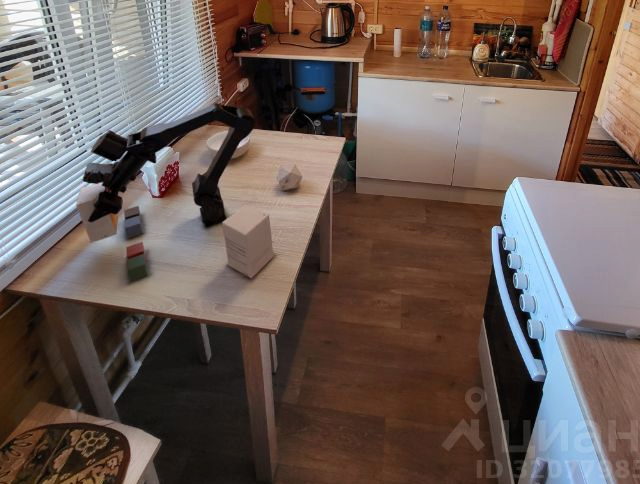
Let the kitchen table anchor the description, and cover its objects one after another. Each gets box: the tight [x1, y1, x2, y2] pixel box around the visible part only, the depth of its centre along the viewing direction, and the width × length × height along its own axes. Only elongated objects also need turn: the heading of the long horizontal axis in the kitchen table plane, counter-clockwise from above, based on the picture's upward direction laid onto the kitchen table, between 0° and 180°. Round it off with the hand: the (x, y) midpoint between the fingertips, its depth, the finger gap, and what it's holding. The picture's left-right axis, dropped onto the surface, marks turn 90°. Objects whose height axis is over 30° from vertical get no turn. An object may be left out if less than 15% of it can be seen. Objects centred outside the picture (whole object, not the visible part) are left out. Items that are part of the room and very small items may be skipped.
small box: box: [75, 182, 119, 243], centre depth 105 cm, size 8×6×13 cm
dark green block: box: [126, 254, 149, 283], centre depth 101 cm, size 4×4×4 cm
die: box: [276, 163, 303, 191], centre depth 136 cm, size 8×9×10 cm
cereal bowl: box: [206, 130, 251, 160], centre depth 156 cm, size 17×17×7 cm
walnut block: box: [123, 205, 143, 224], centre depth 119 cm, size 4×4×4 cm
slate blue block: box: [124, 216, 144, 239], centre depth 115 cm, size 4×4×4 cm
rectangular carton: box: [221, 203, 275, 279], centre depth 103 cm, size 9×9×15 cm
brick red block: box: [125, 241, 147, 262], centre depth 105 cm, size 4×4×4 cm
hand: (92, 211), depth 105 cm, fingers closed on small box, 8 cm apart
